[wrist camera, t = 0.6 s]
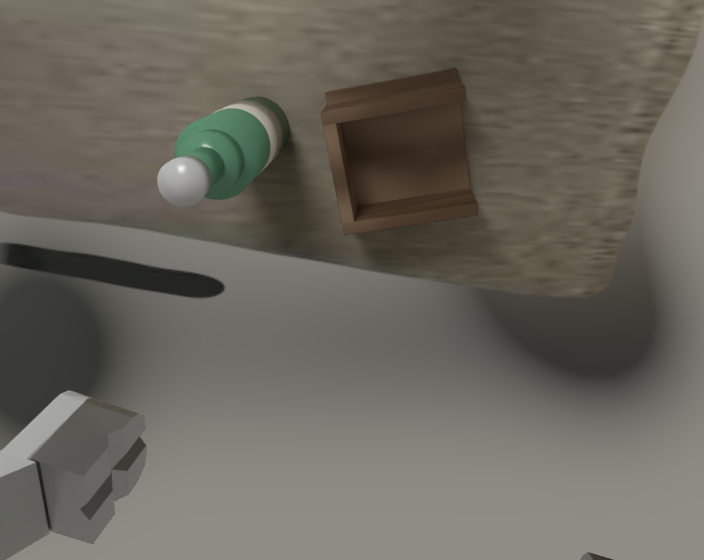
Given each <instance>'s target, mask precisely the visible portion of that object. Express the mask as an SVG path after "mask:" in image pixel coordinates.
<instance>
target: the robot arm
mask: <svg viewBox="0 0 704 560" xmlns="http://www.w3.org/2000/svg"><path fill="white" fill-rule="evenodd" d="M144 430H145V421H144V416H143V415H141V414H138V413H136V412H133V411H129V410H127V409H123V408H121V407H118V406H115V405H112V404H109V403H106V402H103V401H100V400H98V399H95V398H91V397H87V396H85V395H82V394H79V393H76V392H72V391H70V390H69V391H67V392H64V393H62V394H60V395H59V396H58V397H57V398H55V399H54V401H52V402H51V403H50V404H49V405H48V406H47V407H46V408H45V409H44V410H43V411H42V412H41V413H40V414H39V415H38V416H37V417H36V418H35V419H34V420H33V421H32V422H31V423H30V424H29V425H28V426H27V427H26V428H25V429H23V430H22V431H21V432H20V433H19V434H18V435H17V436H16V437H15V438H14V439H13V440H12V441H11V442H10V443H9V444H8V445H7V446H6V447H5V448H4V449H3V450H0V560H6V559H7V558H9V557H11V556H13V555H14V554H16V553H17V552H19V551H21V550H23V549H24V548H26V547H27V546H29V545H31V544H33V543H34V542H36V541H38V540H39V539H41V538H43V537H44V536H46V535H47V534H49V531H52V532H56V533H59V534H62V535H65V536H68V537H71V538H75V539H78V540H81V541H84V542H87V543H91V544H93V543H94V542H95V540H96V539H97V538H98V536H99V535H100V533H101V532H102V530H103V529H104V528H105V527H106V525H107V524H108V522H109V521H110V520H111V518H112V517H113V516H114V514H115V511H114V501H116V500H118V499H120V498H122V497H124V496H126V495H128V494H129V493H130V492H131V490H132V489H133V487H134V486H135V484H136V483H137V481H138V479H139V477H140V475H141V472H142V470H143V468H144V465H145V460H146V445H145V443H144V442H143V440H142V439H141V438H140V435H141V434H142V432H143V431H144ZM581 560H612V559H609V558H606V557H603V556H599V555H596V554H593V553H589V552H588V553H586V554H585V555H583V556H582V558H581Z"/></svg>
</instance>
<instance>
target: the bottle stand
mask: <svg viewBox="0 0 704 560" xmlns="http://www.w3.org/2000/svg"><path fill="white" fill-rule="evenodd" d="M325 96H326V101H327V106H326V107H325V108H324V109H323V110H322V112H321V117H322V123H323V128H324V133H325V138H326V143H327V149H328V154H329V159H330V164H331V169H332V174H333V180H334V185H335V190H336V195H337V200H338V206H339V211H340V216H341V221H342V226H343V232H344V235H350V234H357V233H363V232H370V231H377V230H383V229H390V228H396V227H403V226H409V225H416V224H423V223H429V222H436V221H442V220H449V219H456V218H462V217H469V216H475V215H478V207H477V202H476V200H475V198H474V196H473V194H472V192H471V190H470V185H469V176H468V167H467V158H466V148H465V139H464V130H463V121H462V111H461V101H466V92H465V86H463V85H462V84H461V83H459V82H458V74H457V69H456V68H454V69H449V70H443V71H438V72H432V73H427V74H422V75H416V76H411V77H405V78H400V79H394V80H389V81H383V82H378V83H372V84H367V85H361V86H356V87H351V88H345V89H340V90H334V91H329V92H326V93H325Z"/></svg>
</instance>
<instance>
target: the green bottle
mask: <svg viewBox="0 0 704 560" xmlns="http://www.w3.org/2000/svg"><path fill="white" fill-rule="evenodd" d="M288 134H289V126H288V121H287V118H286V116H285V114H284V112H283V111H282V109H281V108H280V107H279V106H278V105H277V104H276V103H274V102H273V101H271V100H269V99H267V98H263V97H249V98H246V99H244V100H241V101H239V102H236V103H233V104H231V105H229V106H227V107H224V108H222V109H220V110H218V111H216V112H214V113H212V114H211V115H208V116H206V117H204V118H202V119H199V120H197V121H195V122H193V123H191V124H190V125H188V126H187V127H186V128H185V129H184V130H183V131H182V133H181V134H180V136H179V138H178V140H177V142H176V145H175V153H174V157H175V158H174V159H173V160H171V161H169V162H168V163H166V164H165V165H163V167H162V168H161V169H160V171H159V174H158V178H157V183H158V188H159V191H160V193H161V194H162V196H163V197H164V198H165V199H166V200H167V201H168V202H169V203H171V204H173V205H175V206H178V207H190V206H193V205H195V204H196V203H198V202H199V201H200V200H201V199H202V198H204V197H206V198H209V199H217V200H221V199H227V198H231V197H234V196H236V195H237V194H239V193H240V192H242V191H243V190H244V189H245V188H246V187H247V186H248V185H249V184H250V183H251V182H252V181H253V179H254V178H255V177H256V176H257V175H259V174H260V173H261V172H262V171H263V170H264V169H265V168H266V167H267V166H268V165H269V164H270V162H271V161H272V160H273V159H274V158H275V157H276V156H277V154H278V153H279V152H280V151H281V150H282V149H283V147H284V146H285V144H286V142H287V139H288Z"/></svg>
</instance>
